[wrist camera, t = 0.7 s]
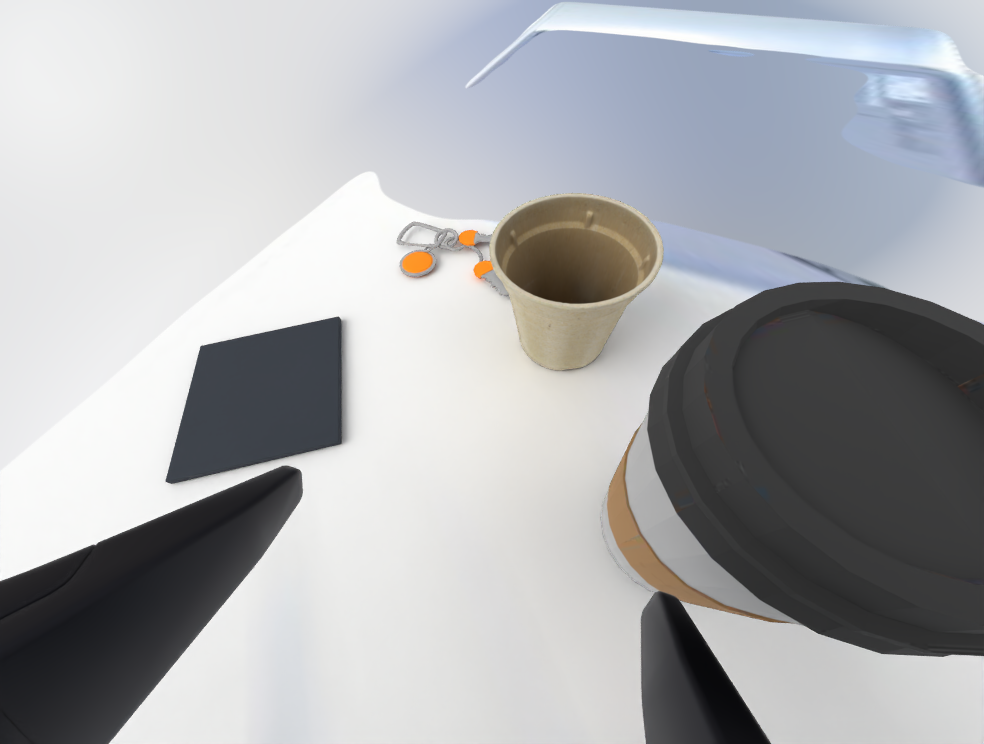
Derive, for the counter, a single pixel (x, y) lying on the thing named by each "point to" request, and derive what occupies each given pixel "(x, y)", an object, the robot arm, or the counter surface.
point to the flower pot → (573, 272)
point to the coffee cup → (817, 470)
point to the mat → (261, 400)
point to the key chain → (426, 261)
